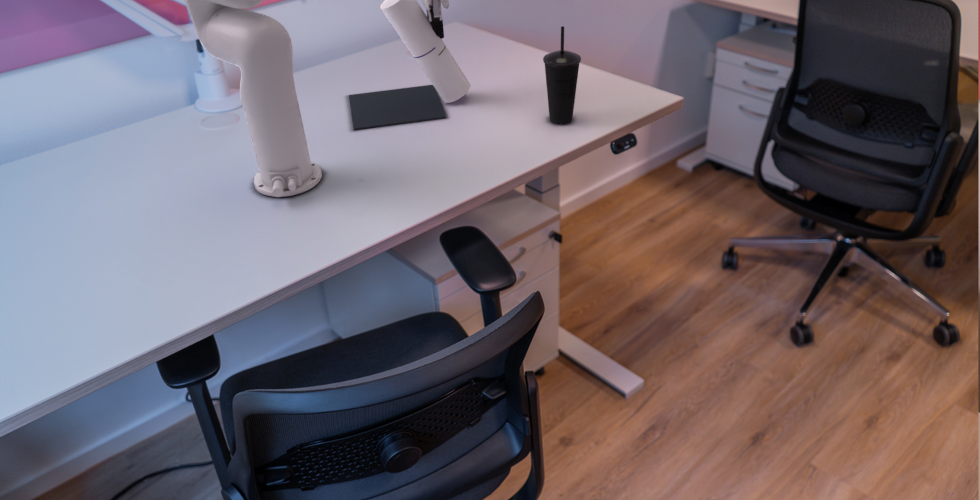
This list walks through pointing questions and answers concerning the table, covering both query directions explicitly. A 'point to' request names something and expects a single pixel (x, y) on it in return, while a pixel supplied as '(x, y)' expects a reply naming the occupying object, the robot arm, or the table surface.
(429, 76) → the cylindrical container
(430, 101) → the desk mat
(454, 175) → the table surface
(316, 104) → the table surface
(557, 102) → the drinking cup
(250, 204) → the table surface
